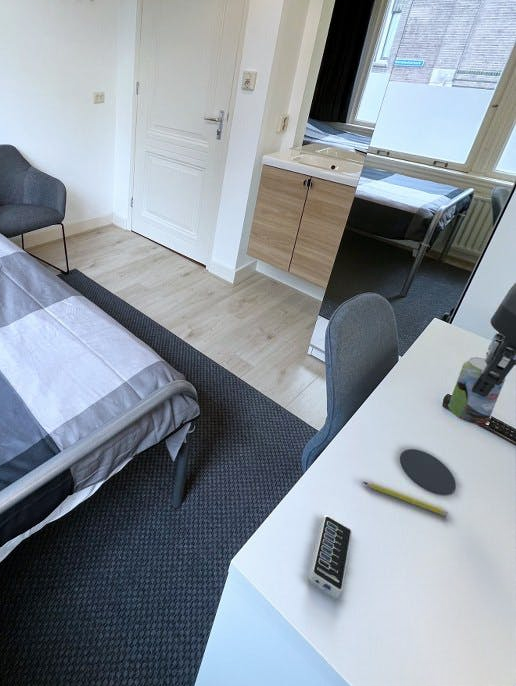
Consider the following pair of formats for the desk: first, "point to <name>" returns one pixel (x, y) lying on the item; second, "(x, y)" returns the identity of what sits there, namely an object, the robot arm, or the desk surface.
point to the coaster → (427, 471)
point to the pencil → (407, 499)
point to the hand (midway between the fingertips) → (481, 383)
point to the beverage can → (473, 394)
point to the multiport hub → (330, 556)
